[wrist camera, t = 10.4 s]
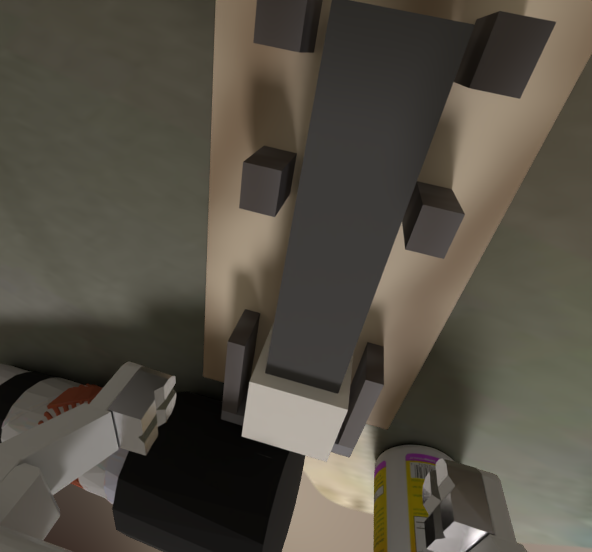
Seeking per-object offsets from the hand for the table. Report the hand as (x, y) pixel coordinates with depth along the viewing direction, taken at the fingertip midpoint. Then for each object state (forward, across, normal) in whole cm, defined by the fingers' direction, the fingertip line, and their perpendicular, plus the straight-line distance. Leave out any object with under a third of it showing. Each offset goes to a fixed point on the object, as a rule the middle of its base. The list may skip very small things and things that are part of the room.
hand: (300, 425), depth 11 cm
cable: (+11, +15, +20) cm, 27 cm away
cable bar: (+10, 0, 0) cm, 10 cm away
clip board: (+11, 0, 0) cm, 11 cm away
